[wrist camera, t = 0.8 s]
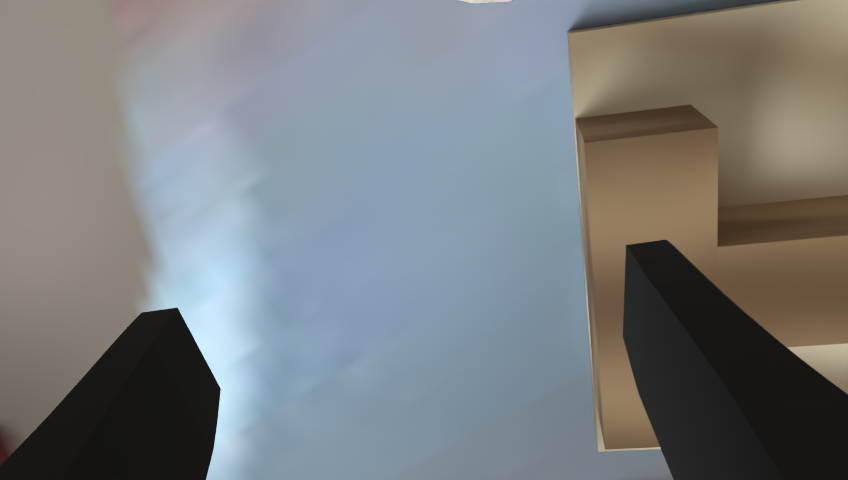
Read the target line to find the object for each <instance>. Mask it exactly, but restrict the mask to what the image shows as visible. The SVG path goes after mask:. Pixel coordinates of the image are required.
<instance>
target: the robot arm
mask: <svg viewBox="0 0 848 480" xmlns="http://www.w3.org/2000/svg"><path fill="white" fill-rule="evenodd" d="M623 339H624V343H625V347H626V350H627V354H628V358H629V362H630V365H631V369H632V372H633V376H634V379H635V383H636V386H637V390H638V393H639V396H640V398H641V401H642V403H643V406H644V408H645V411H646V413H647V416H648V418H649V421H650V423H651V426H652V428H653V430H654V433H655V435H656V438H657V440H658V443H659V445H660V447H661V450H662V452H663V455H664V457H665V459H666V462H667V464H668V467H669V469H670V471H671V474H672V476H673V479H674V480H848V394H847V393H846V392H844V391H843V390H842V389H840V388H839V387H837V386H836V385H835V384H833V383H832V382H831V381H829V380H828V379H827V378H825V377H824V376H823V375H821V374H820V373H819V372H818V371H816V370H815V369H814V368H812V367H811V366H810V365H808V364H807V363H806V362H805V361H803V360H802V359H801V358H799V357H798V356H797V355H796V354H794V353H793V352H792V351H791V350H789V349H788V348H787V347H786V346H784V345H783V344H782V343H781V342H780V341H778V340H777V339H776V338H775V337H774V336H772V335H771V334H770V333H769V332H768V331H767V330H765V329H764V328H763V327H762V326H761V325H760V324H758V323H757V322H756V321H755V320H754V319H753V318H751V317H750V316H749V315H748V314H747V313H746V312H744V311H743V310H742V309H741V308H740V307H739V306H738V305H736V304H735V303H734V302H733V301H732V300H731V299H730V298H729V297H728V296H726V295H725V294H724V293H723V292H722V291H721V290H720V289H719V288H718V287H717V286H716V285H715V284H713V283H712V282H711V281H710V280H709V279H708V278H707V277H706V276H705V275H704V274H703V273H702V272H701V271H700V270H699V269H698V268H697V267H695V266H694V265H693V264H692V263H691V262H690V261H689V260H688V259H687V258H686V257H685V256H684V255H683V254H682V253H681V252H680V251H679V250H678V249H677V248H676V247H675V246H674V245H673V244H671V243H670V242H669V241H667V240H659V241H652V242H644V243H637V244H630V245H626V259H625V288H624V316H623ZM219 399H220V387H219V385H218V383H217V381H216V379H215V378H214V376H213V374H212V372H211V370H210V368H209V366H208V364H207V362H206V361H205V359H204V357H203V355H202V353H201V351H200V349H199V347H198V346H197V344H196V342H195V340H194V338H193V336H192V334H191V332H190V330H189V329H188V327H187V325H186V323H185V321H184V319H183V317H182V315H181V314H180V312H179V310H178V308H172V309H165V310H157V311H150V312H143V313H141V314H140V315H139V316H138V317H137V318H136V319H135V320H134V321H133V322H132V323H131V324H130V326H128V327H127V329H126V330H125V331H124V332H123V333H122V334H121V335H120V336H119V337H118V339H117V340H116V341H115V342H114V343H113V344H112V345H111V346H110V347H109V349H108V350H107V351H106V352H105V353H104V354H103V355H102V357H101V358H100V359H99V360H98V361H97V362H96V363H95V365H94V366H93V367H92V368H91V369H90V370H89V371H88V373H87V374H86V375H85V376H84V377H83V378H82V379H81V381H79V383H78V384H77V385H76V386H75V387H74V388H73V389H72V390H71V392H70V393H69V394H68V395H67V396H66V397H65V398H64V399H63V400H62V402H61V403H60V404H59V405H58V406H57V407H56V408H55V409H54V410H53V411H52V413H51V414H50V415H49V416H48V417H47V418H46V419H45V420H44V421H43V422H42V423H41V424H40V425H39V426H38V428H37V429H36V430H35V431H34V432H33V433H32V434H31V435H30V436H29V437H28V438H27V439H26V440H25V441H24V442H23V443H22V444H21V445H20V446H19V447H18V448H17V449H16V450H15V451H14V452H13V453H12V454H11V455H10V456H9V458H8V459H7V460H6V461H5V462H4V463H3V464H2V465H1V466H0V480H206V477H207V473H208V469H209V465H210V461H211V456H212V452H213V448H214V441H215V434H216V427H217V419H218V409H219Z"/></svg>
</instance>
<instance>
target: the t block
mask: <svg viewBox="0 0 848 480" xmlns="http://www.w3.org/2000/svg"><path fill="white" fill-rule="evenodd" d="M575 124H576V138H577V152H578V166H579V180H580V195H581V209H582V223H583V237H584V251H585V265H586V280H587V294H588V308H589V322H590V336H591V350H592V365H593V379H594V393H595V399H596V405H597V410H598V415H599V420H600V425H601V431H602V436H603V441H604V446H605V450H607V449H629V448H652V447H660V445H659V443H658V440H657V438H656V435H655V433H654V430H653V428H652V426H651V423H650V421H649V418H648V416H647V413H646V411H645V408H644V406H643V403H642V401H641V398H640V396H639V393H638V390H637V386H636V383H635V379H634V376H633V372H632V369H631V365H630V362H629V358H628V354H627V350H626V347H625V343H624V339H623V316H624V288H625V259H626V245H630V244H637V243H644V242H652V241H659V240H667V241H669V242H670V243H671V244H673V245H674V246H675V247H676V248H677V249H678V250H679V251H680V252H681V253H682V254H683V255H684V256H685V257H686V258H687V259H688V260H689V261H690V262H691V263H692V264H693V265H694V266H695V267H697V268H698V269H699V270H700V271H701V272H702V273H703V274H704V275H705V276H706V277H707V278H708V279H709V280H710V281H711V282H712V283H713V284H715V285H716V286H717V287H718V288H719V289H720V290H721V291H722V292H723V293H724V294H725V295H726V296H728V297H729V298H730V299H731V300H732V301H733V302H734V303H735V304H736V305H738V306H739V307H740V308H741V309H742V310H743V311H744V312H746V313H747V314H748V315H749V316H750V317H751V318H753V319H754V320H755V321H756V322H757V323H758V324H760V325H761V326H762V327H763V328H764V329H765V330H767V331H768V332H769V333H770V334H771V335H772V336H774V337H775V338H776V339H777V340H778V341H780V342H781V343H782V344H783V345H784V346H786V347H800V346H816V345H831V344H847V343H848V195H843V196H833V197H822V198H812V199H802V200H792V201H782V202H771V203H761V204H751V205H741V206H731V207H721V208H718V127H717V126H716V125H715V124H714V123H712V122H711V121H710V120H709V119H708V118H706V117H705V116H704V115H703V114H702V113H700V112H699V111H698V110H697V109H695V108H694V107H693V106H692V105H691V104H690V105H682V106H674V107H666V108H658V109H650V110H641V111H633V112H625V113H617V114H609V115H601V116H593V117H584V118H576V119H575Z"/></svg>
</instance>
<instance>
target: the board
mask: <svg viewBox="0 0 848 480" xmlns="http://www.w3.org/2000/svg"><path fill="white" fill-rule="evenodd" d="M567 33H568V47H569V61H570V75H571V89H572V103H573V117H574V131H575V145H576V159H577V173H578V187H579V201H580V215H581V229H582V243H583V257H584V271H585V285H586V299H587V313H588V327H589V341H590V355H591V369H592V383H593V397H594V411H595V425H596V439H597V445H598V451H599V452H601V451H624V450H647V449H661V447H652V448H629V449H607V450H605V446H604V441H603V436H602V431H601V425H600V420H599V415H598V410H597V405H596V399H595V393H594V379H593V365H592V350H591V336H590V322H589V308H588V294H587V280H586V265H585V251H584V237H583V223H582V209H581V195H580V180H579V166H578V152H577V138H576V124H575V119H576V118H584V117H593V116H601V115H609V114H617V113H625V112H633V111H641V110H650V109H658V108H666V107H674V106H682V105H690V104H691V105H692V106H693V107H694V108H695V109H697V110H698V111H699V112H700V113H702V114H703V115H704V116H705V117H706V118H708V119H709V120H710V121H711V122H712V123H714V124H715V125H716V126H717V127H718V208H721V207H731V206H741V205H751V204H761V203H771V202H782V201H792V200H802V199H812V198H822V197H833V196H843V195H848V0H780V1H774V2H767V3H760V4H753V5H746V6H739V7H732V8H725V9H718V10H711V11H704V12H697V13H690V14H683V15H676V16H669V17H662V18H655V19H648V20H641V21H635V22H628V23H621V24H614V25H607V26H600V27H593V28H586V29H579V30H572V31H567ZM787 348H788V349H789V350H791V351H792V352H793V353H794V354H796V355H797V356H798V357H799V358H801V359H802V360H803V361H805V362H806V363H807V364H808V365H810V366H811V367H812V368H814V369H815V370H816V371H818V372H819V373H820V374H821V375H823V376H824V377H825V378H827V379H828V380H829V381H831V382H832V383H833V384H835V385H836V386H837V387H839V388H840V389H842V390H843V391H844V392H846V393H847V394H848V343H847V344H831V345H816V346H800V347H787Z"/></svg>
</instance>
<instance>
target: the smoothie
mask: <svg viewBox="0 0 848 480" xmlns="http://www.w3.org/2000/svg"><path fill="white" fill-rule="evenodd" d="M461 1H465V2H469V3H489V2H508V1H512V0H461Z"/></svg>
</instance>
